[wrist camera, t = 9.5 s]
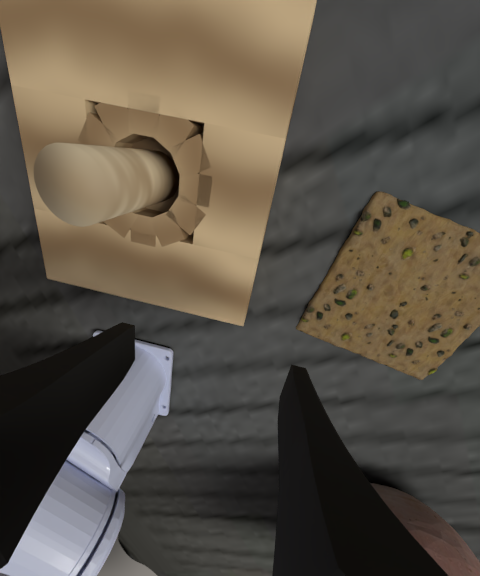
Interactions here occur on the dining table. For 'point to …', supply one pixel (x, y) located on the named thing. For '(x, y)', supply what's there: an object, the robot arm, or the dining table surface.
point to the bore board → (162, 134)
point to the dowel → (102, 181)
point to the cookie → (400, 288)
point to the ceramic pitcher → (431, 532)
